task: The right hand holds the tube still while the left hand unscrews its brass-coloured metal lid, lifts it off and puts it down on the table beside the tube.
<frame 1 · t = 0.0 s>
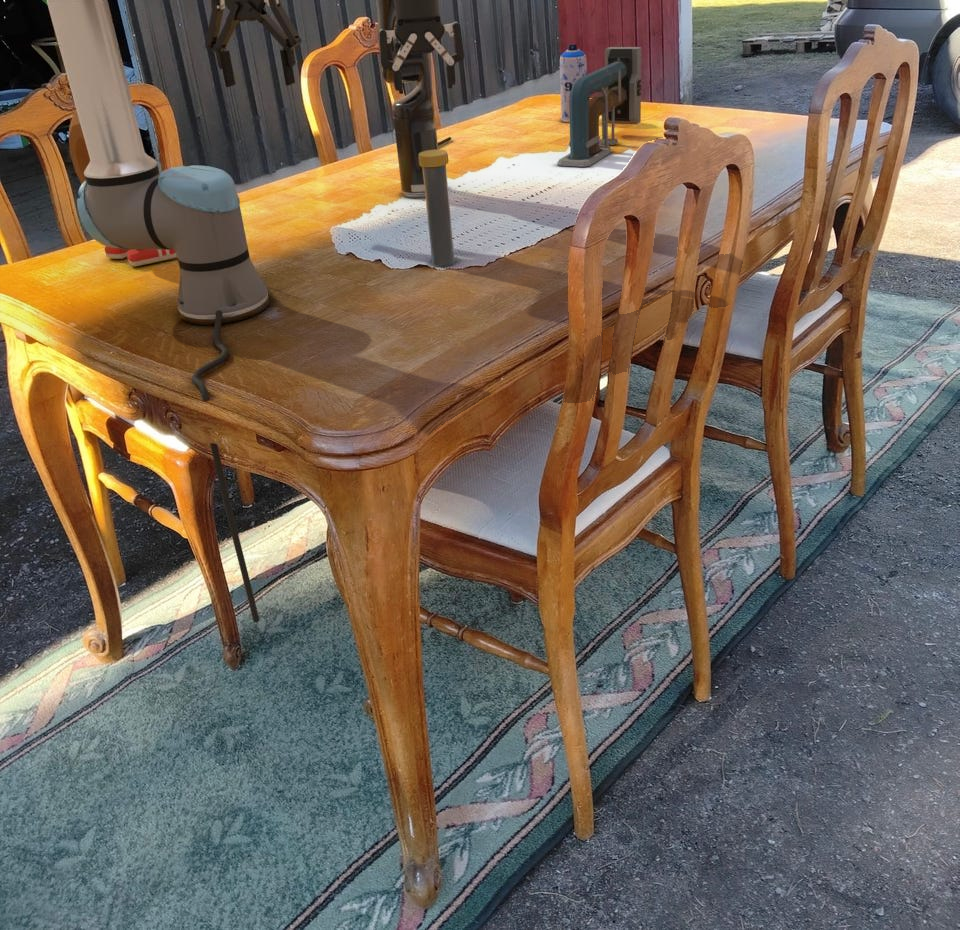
left hand: (260, 85, 196), 28 cm above the table, tool pointing down, fingers open, 13 cm apart
right hand: (425, 90, 168), 29 cm above the table, tool pointing down, fingers open, 8 cm apart
tube: (443, 262, 179), on the table
toy: (141, 257, 195), on the table
aerosol can: (574, 120, 278), on the table
clamp: (599, 149, 245), on the table
lid: (433, 155, 169), point 20 cm above the table, screwed on, not yet turned
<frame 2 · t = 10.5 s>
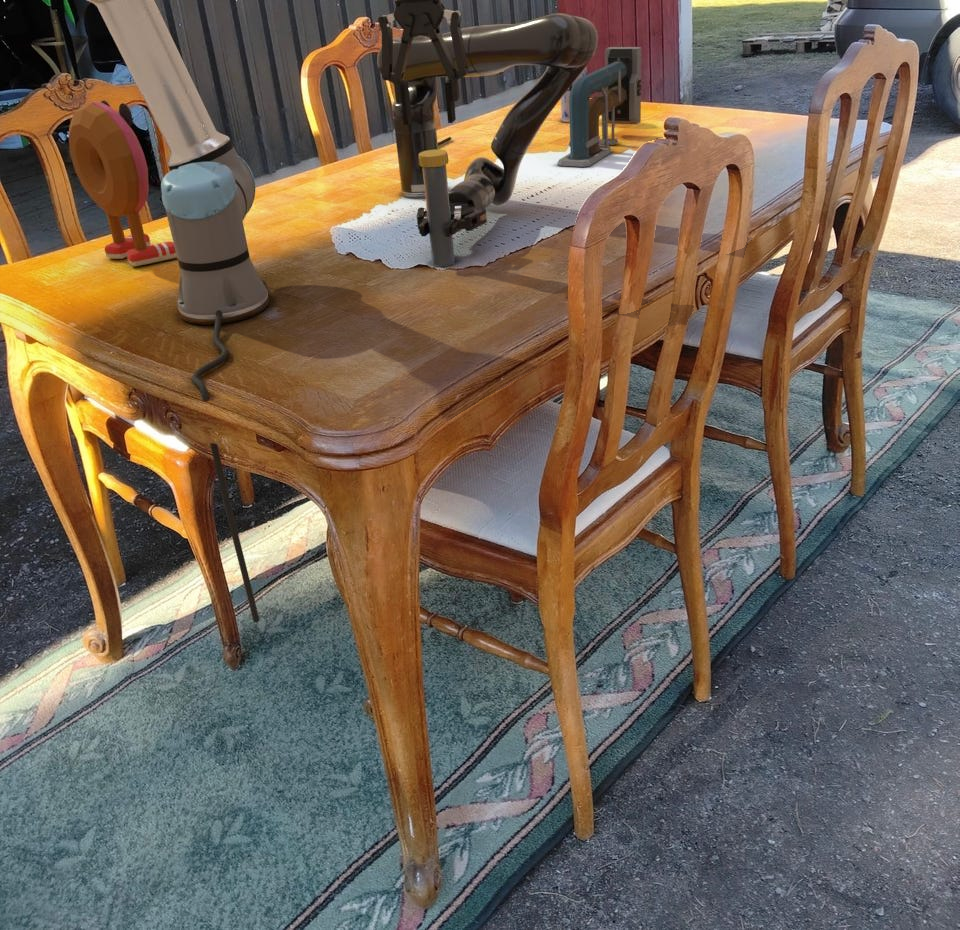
left hand: (429, 121, 166), 25 cm above the table, tool pointing down, fingers open, 7 cm apart
right hand: (435, 231, 173), 7 cm above the table, tool horizontal, fingers closed on tube, 4 cm apart
tube: (443, 262, 179), on the table, touching right hand
everything else where it was.
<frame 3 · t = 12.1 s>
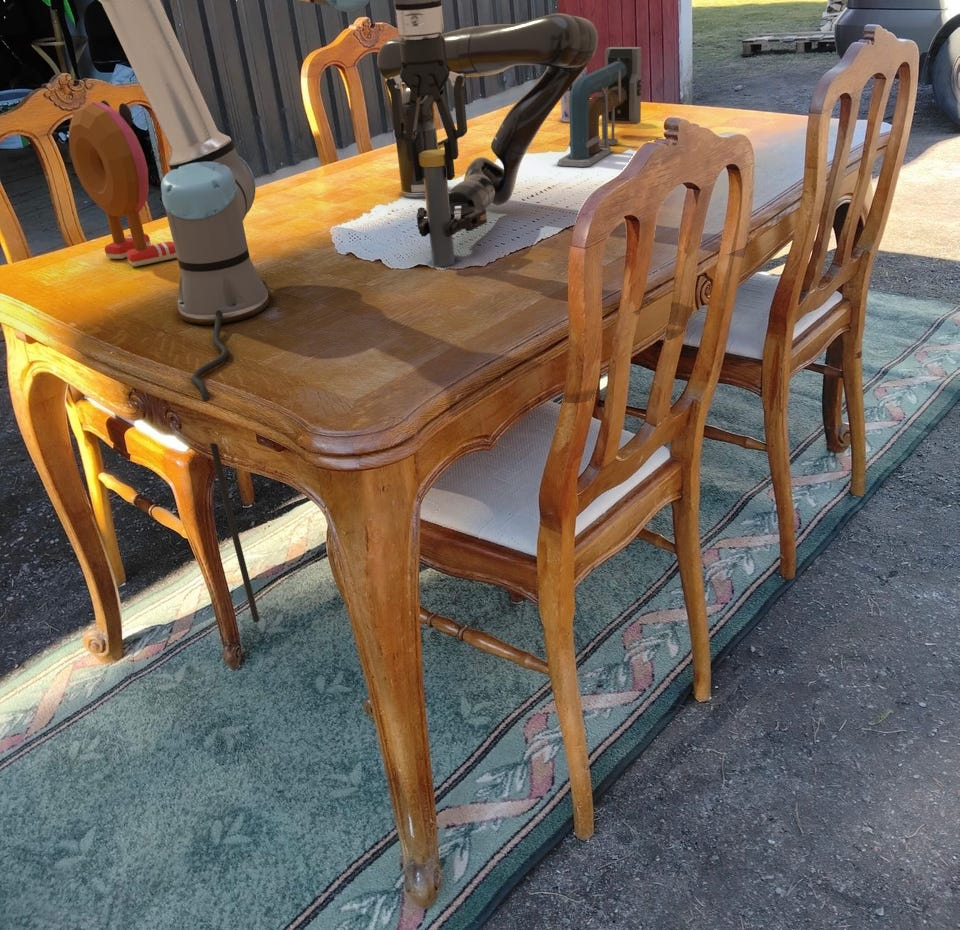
left hand: (435, 178, 171), 15 cm above the table, tool pointing down, fingers closed on lid, 5 cm apart
right hand: (435, 231, 173), 7 cm above the table, tool horizontal, fingers closed on tube, 4 cm apart
tube: (443, 262, 179), on the table, touching right hand
lid: (433, 155, 169), point 20 cm above the table, screwed on, not yet turned, touching left hand
everything else where it was.
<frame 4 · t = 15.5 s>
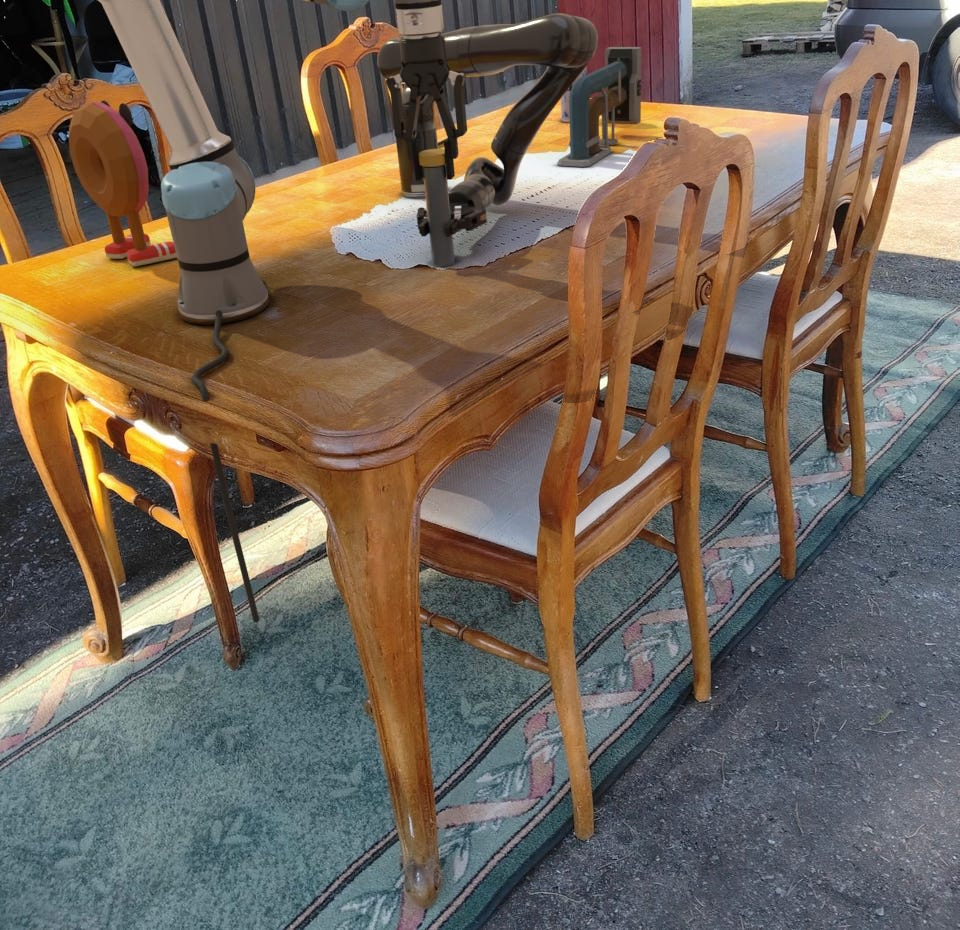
left hand: (435, 177, 171), 16 cm above the table, tool pointing down, fingers closed on lid, 5 cm apart
right hand: (435, 231, 173), 7 cm above the table, tool horizontal, fingers closed on tube, 4 cm apart
tube: (443, 262, 179), on the table, touching right hand
lid: (433, 154, 169), point 20 cm above the table, turned 101° so far, risen 0.1 cm, still on its thread, touching left hand
everything else where it was.
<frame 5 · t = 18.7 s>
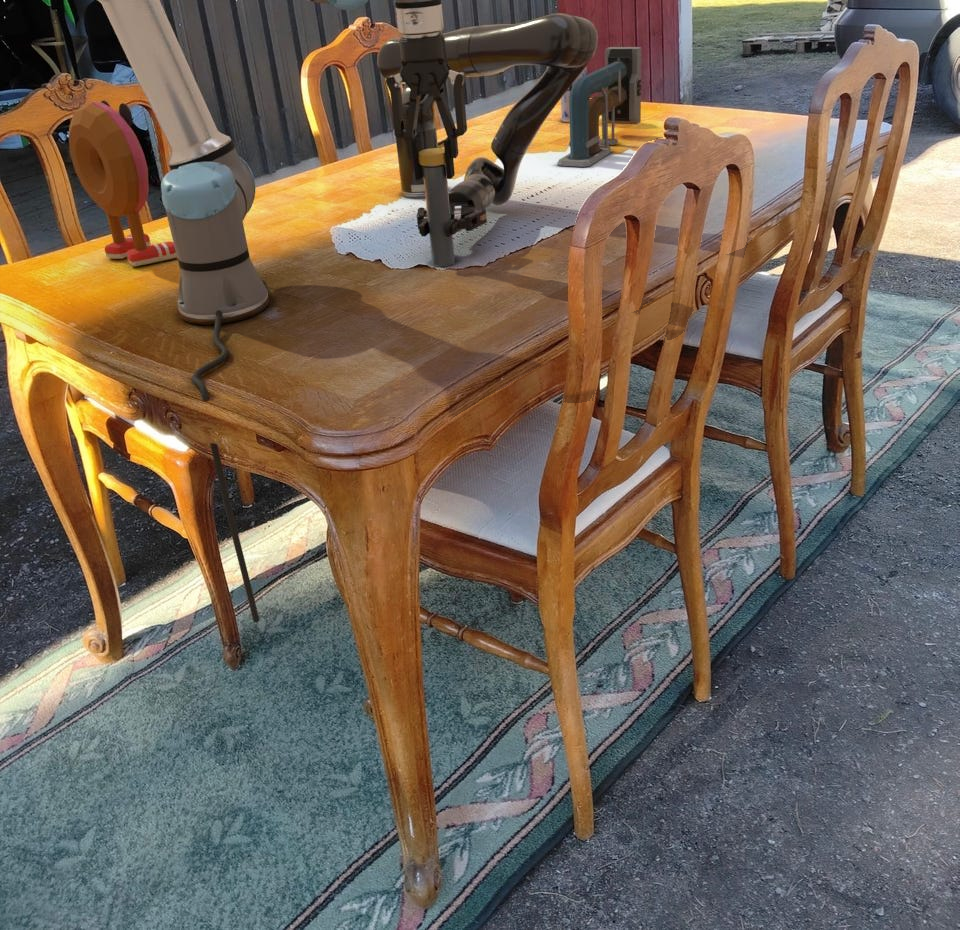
left hand: (435, 177, 171), 16 cm above the table, tool pointing down, fingers closed on lid, 5 cm apart
right hand: (435, 231, 173), 7 cm above the table, tool horizontal, fingers closed on tube, 4 cm apart
tube: (443, 262, 179), on the table, touching right hand
lid: (433, 153, 169), point 20 cm above the table, turned 202° so far, risen 0.2 cm, still on its thread, touching left hand
everything else where it was.
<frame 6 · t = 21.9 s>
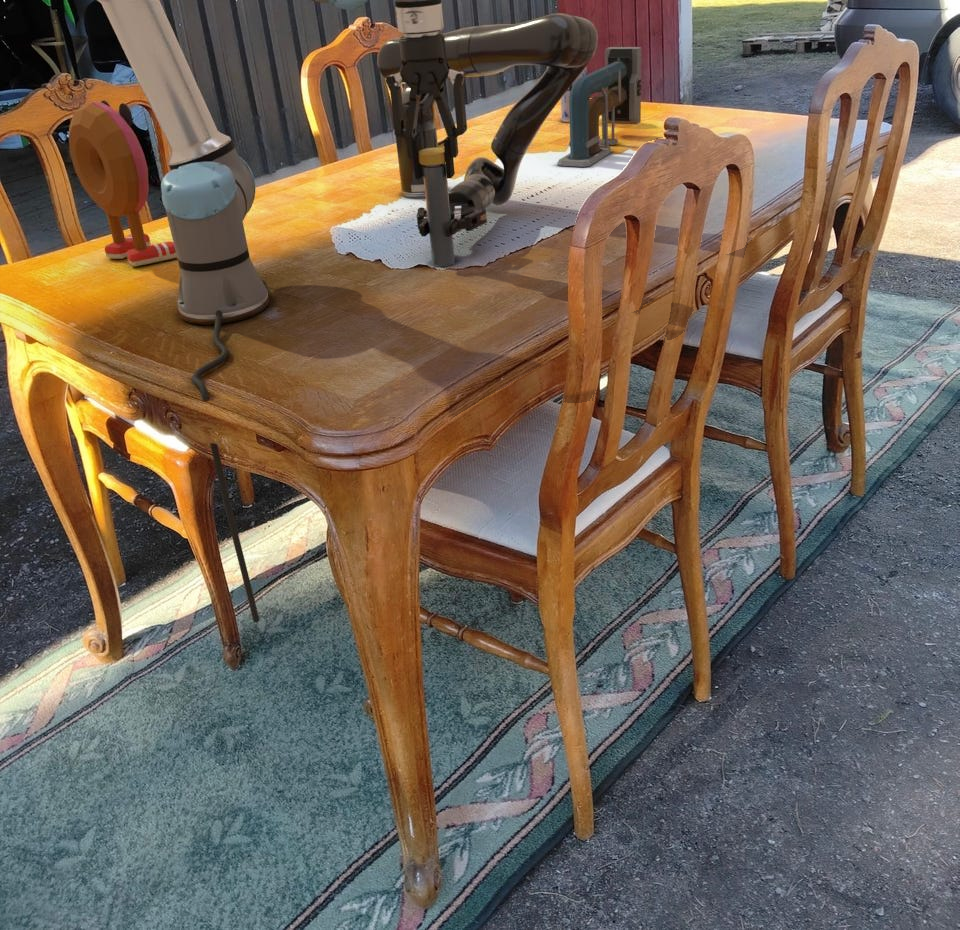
left hand: (435, 176, 171), 16 cm above the table, tool pointing down, fingers closed on lid, 5 cm apart
right hand: (435, 231, 173), 7 cm above the table, tool horizontal, fingers closed on tube, 4 cm apart
tube: (443, 262, 179), on the table, touching right hand
lid: (432, 152, 168), point 20 cm above the table, turned 303° so far, risen 0.4 cm, still on its thread, touching left hand
everything else where it was.
when the left hand's fingers open (0 cm above the table, at t = 29.5 s): lid drops 3 cm, point 2 cm above the table.
when the right hand's fingers open (7 cm above the table, at t = 30.1 s): tube stays where it is, on the table.
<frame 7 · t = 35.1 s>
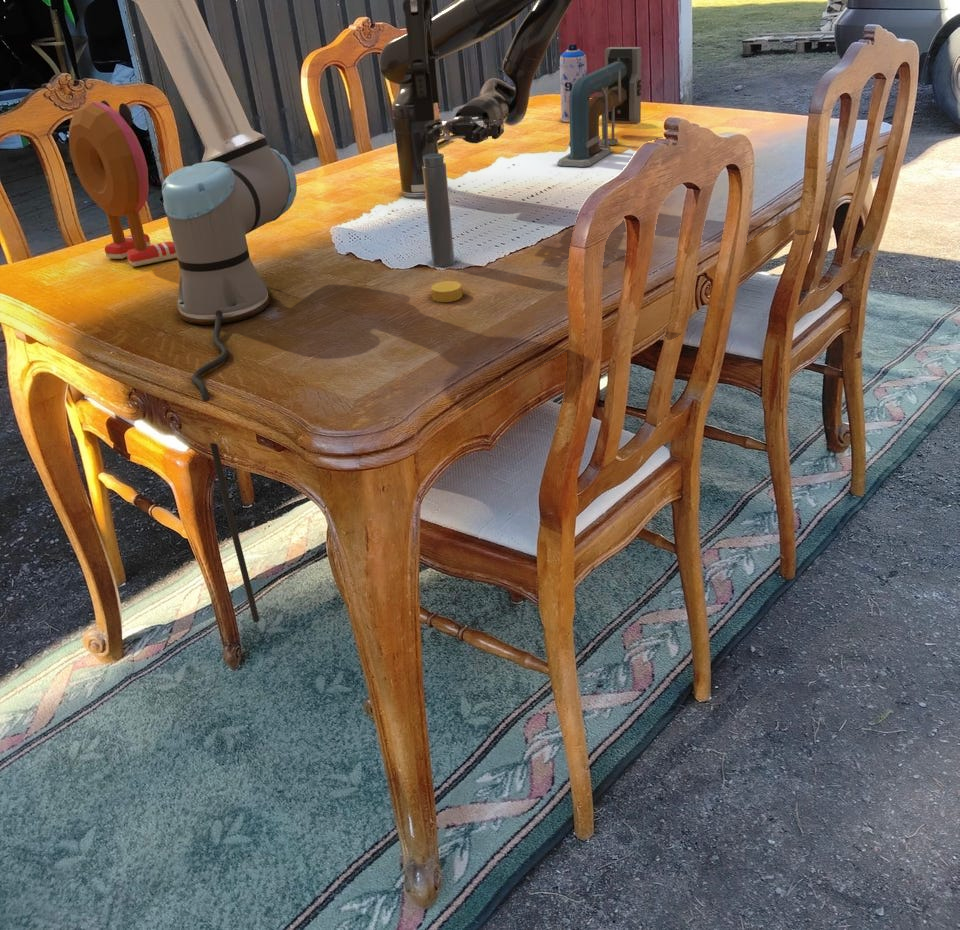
left hand: (427, 111, 148), 30 cm above the table, tool pointing down, fingers open, 13 cm apart
right hand: (452, 137, 177), 20 cm above the table, tool horizontal, fingers open, 8 cm apart
tube: (443, 262, 179), on the table
lid: (446, 288, 163), point 2 cm above the table, off its thread
everything else where it was.
at the end: lid came off its thread; lid point 1.5 cm above the table; the left hand is holding nothing; the right hand is holding nothing; tube tilted 0°; tube moved 0.0 cm from its start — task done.
